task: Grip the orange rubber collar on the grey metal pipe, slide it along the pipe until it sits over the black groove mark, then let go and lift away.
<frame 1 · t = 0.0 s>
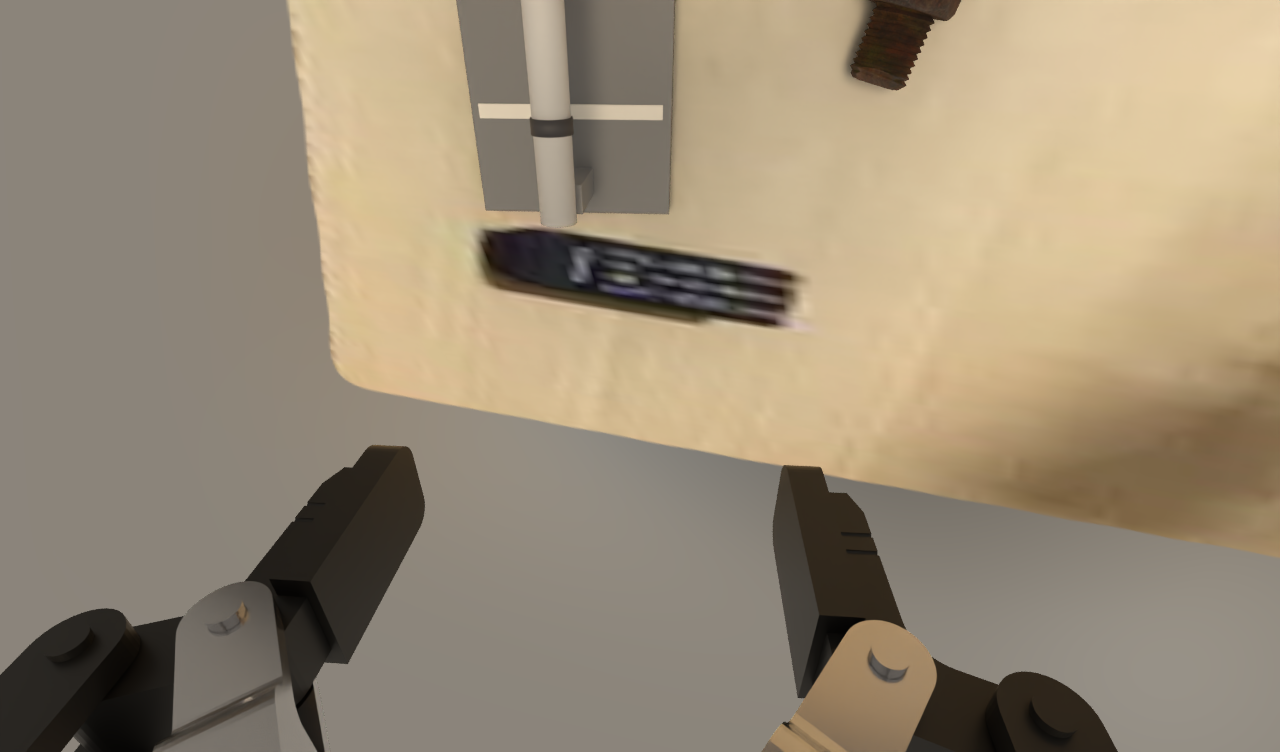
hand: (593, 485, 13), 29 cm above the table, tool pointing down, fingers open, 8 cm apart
pipe stand: (569, 12, 33), on the table
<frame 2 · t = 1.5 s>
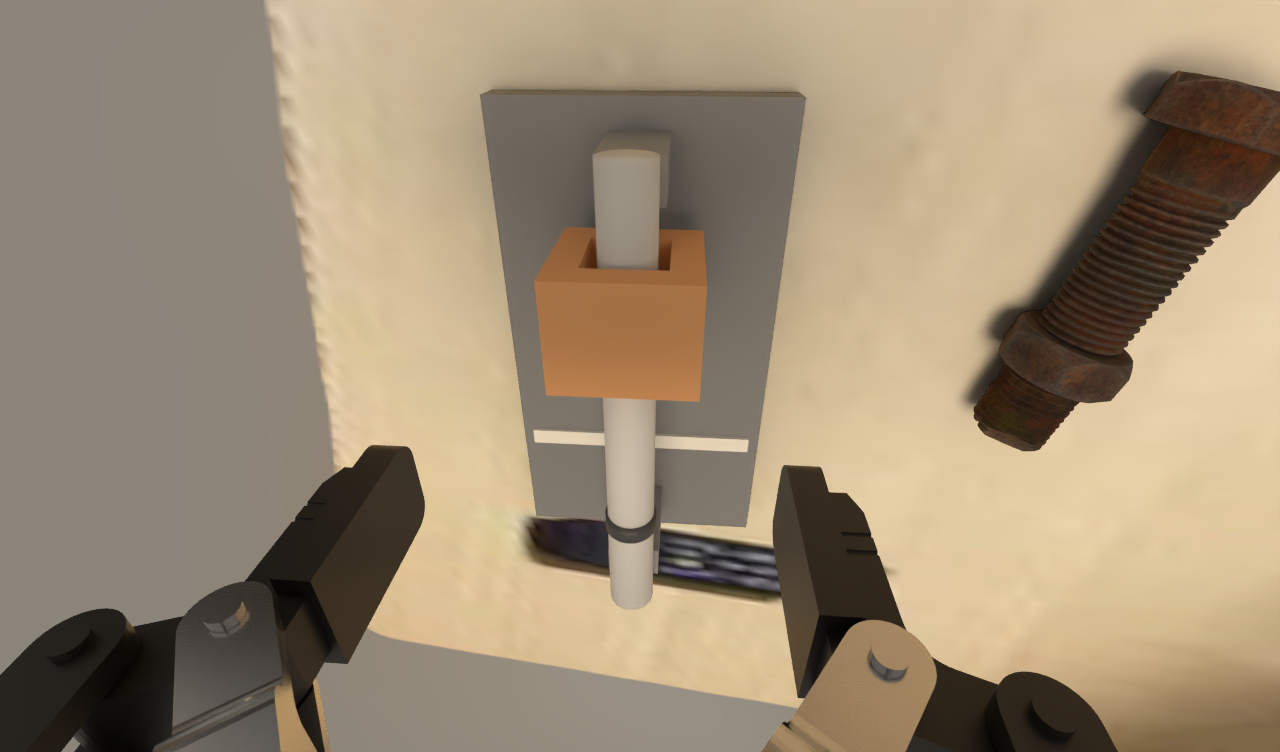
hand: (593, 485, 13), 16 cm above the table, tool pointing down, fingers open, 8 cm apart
bolt: (1072, 268, 25), on the table
collar: (628, 309, 20), point 7 cm above the table, slide at 0.0 cm
pipe stand: (642, 339, 28), on the table
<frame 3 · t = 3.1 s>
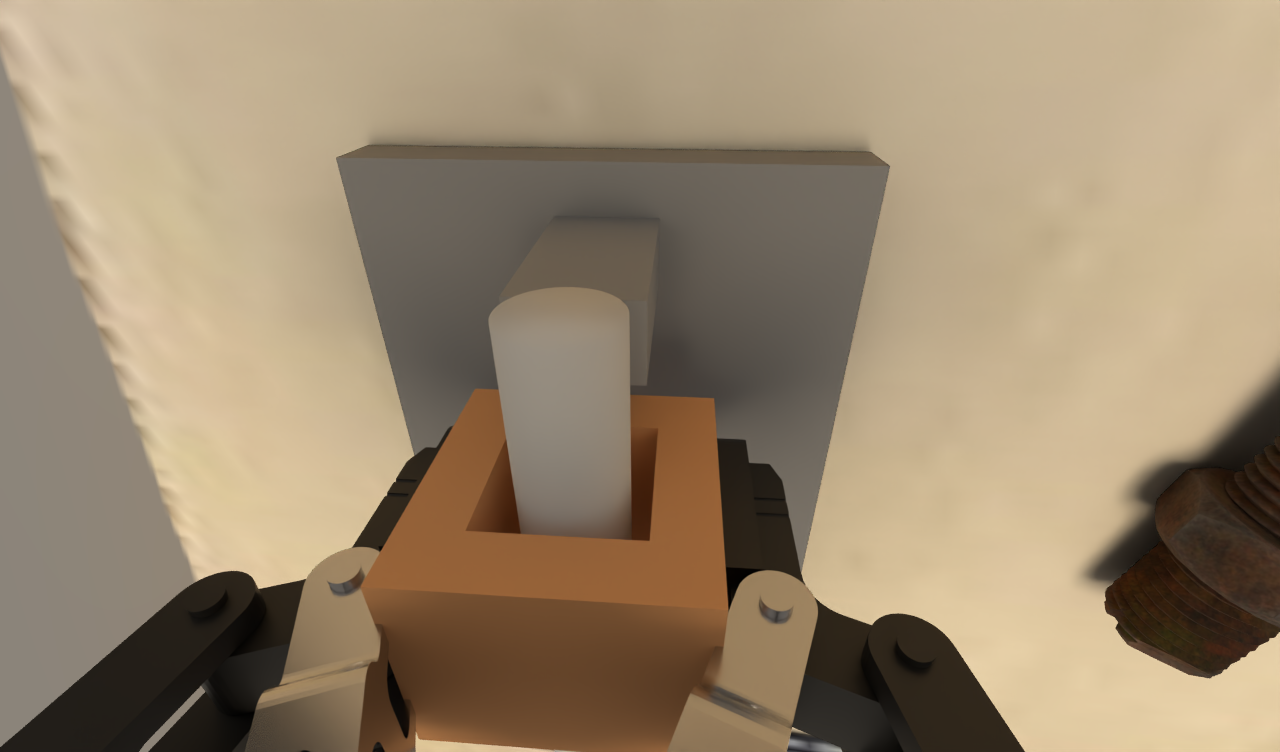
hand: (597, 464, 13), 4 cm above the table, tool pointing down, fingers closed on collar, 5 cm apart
bolt: (1274, 409, 17), on the table
collar: (579, 554, 11), point 7 cm above the table, slide at 0.0 cm, touching gripper
pipe stand: (620, 493, 19), on the table
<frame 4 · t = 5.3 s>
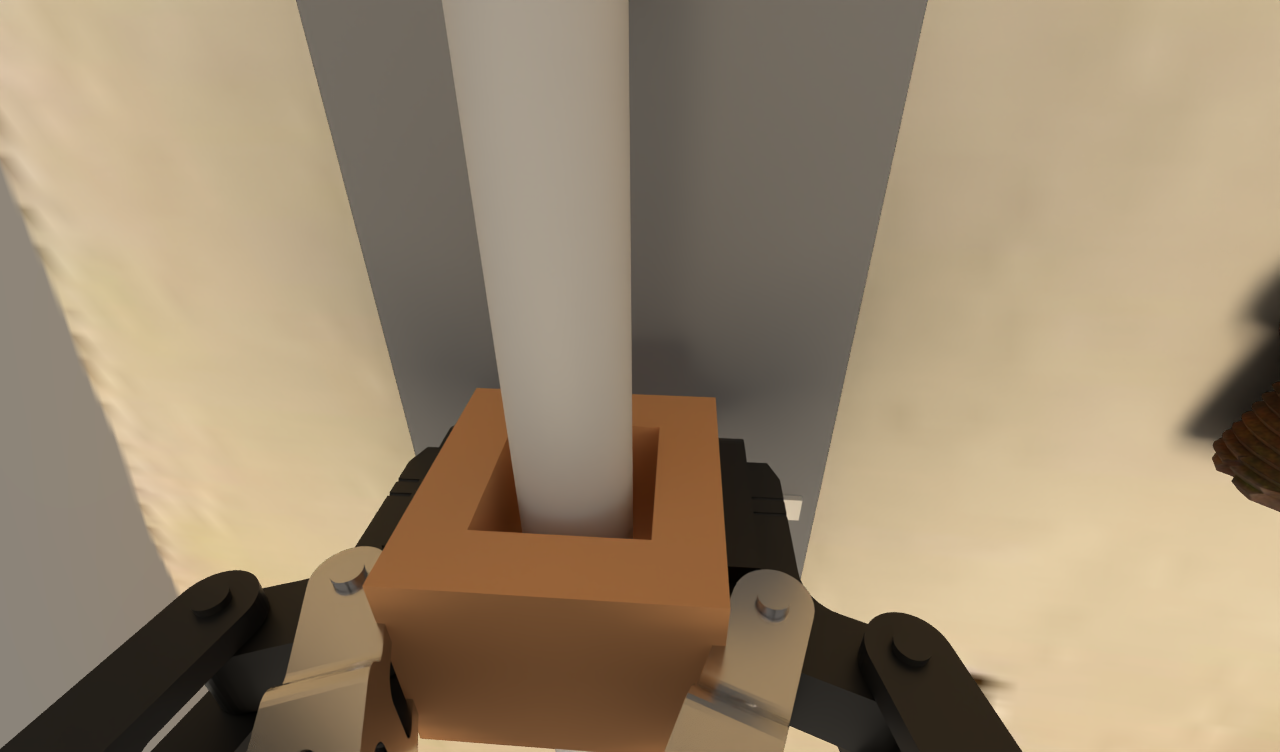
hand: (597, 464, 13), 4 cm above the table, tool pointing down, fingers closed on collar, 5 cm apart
collar: (580, 553, 11), point 7 cm above the table, slide at 6.3 cm, touching gripper
pipe stand: (617, 327, 16), on the table
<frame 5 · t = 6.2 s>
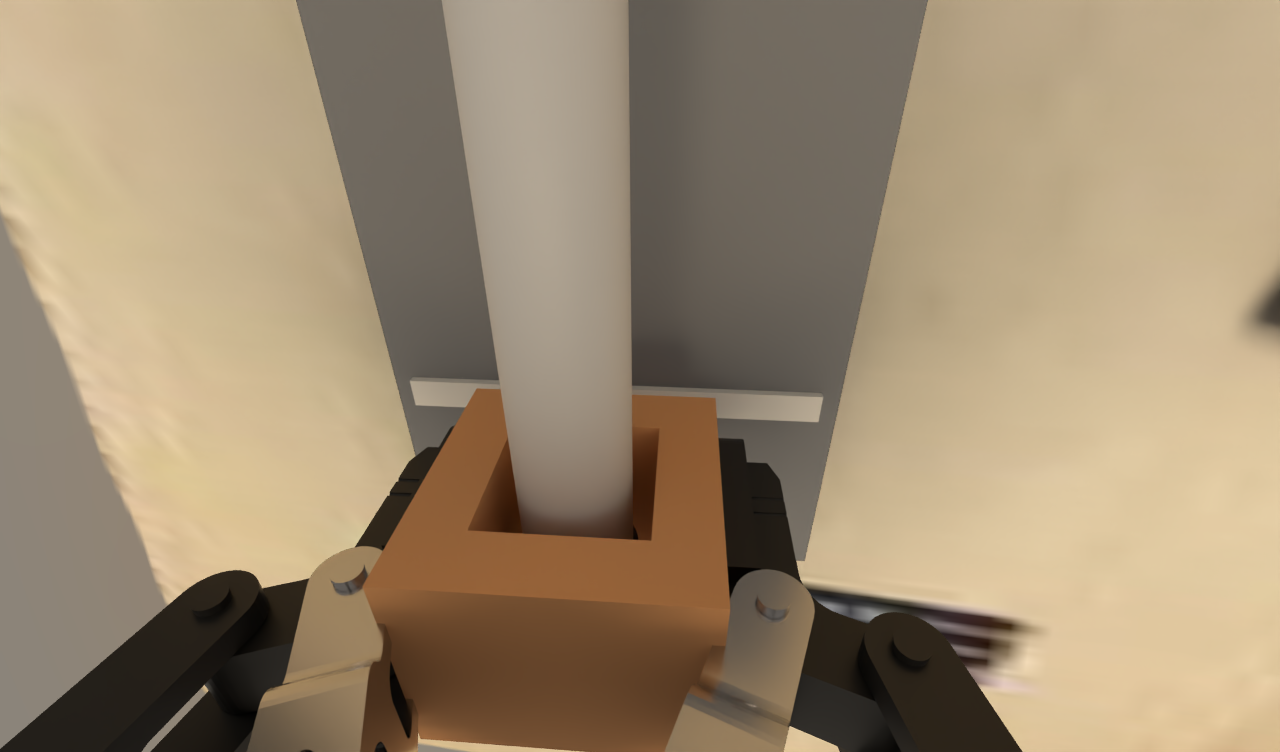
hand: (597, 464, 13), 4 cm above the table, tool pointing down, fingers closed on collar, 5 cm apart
collar: (580, 553, 11), point 7 cm above the table, slide at 9.9 cm, touching gripper
pipe stand: (614, 195, 14), on the table
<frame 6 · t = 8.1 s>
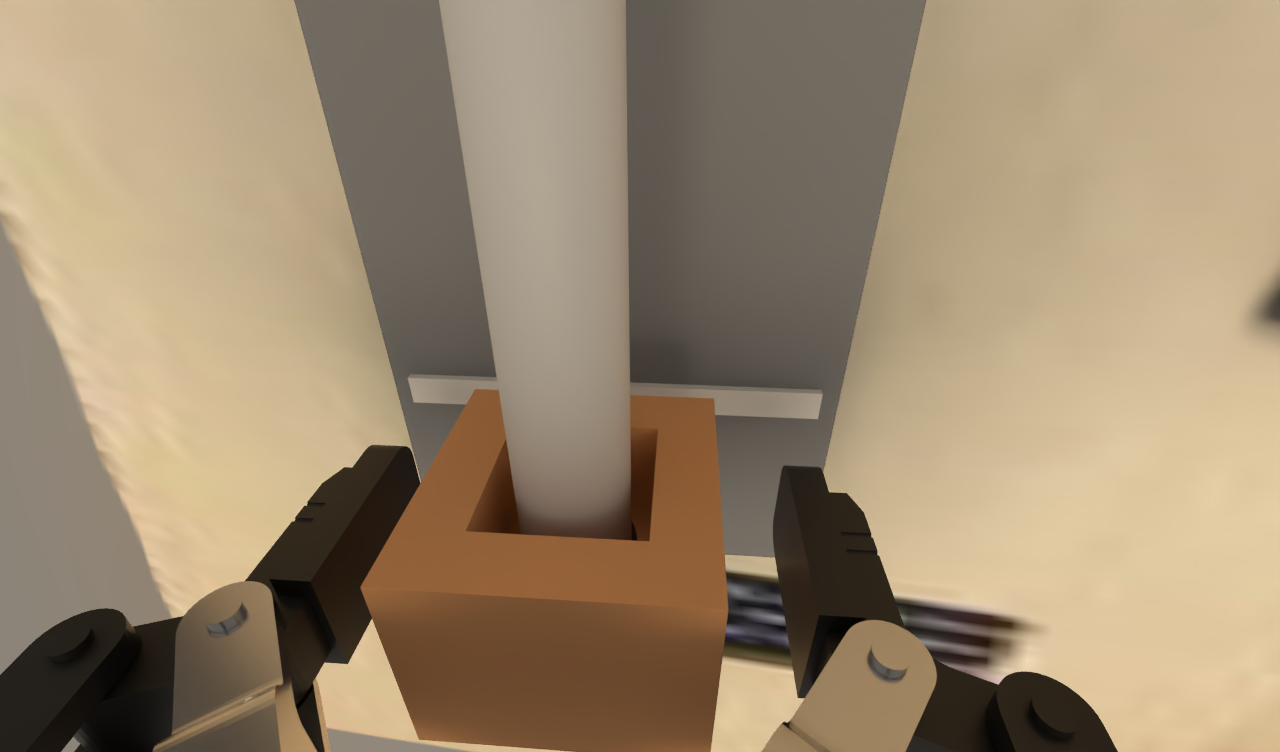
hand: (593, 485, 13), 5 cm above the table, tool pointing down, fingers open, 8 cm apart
collar: (578, 554, 11), point 7 cm above the table, slide at 10.0 cm
pipe stand: (613, 191, 14), on the table
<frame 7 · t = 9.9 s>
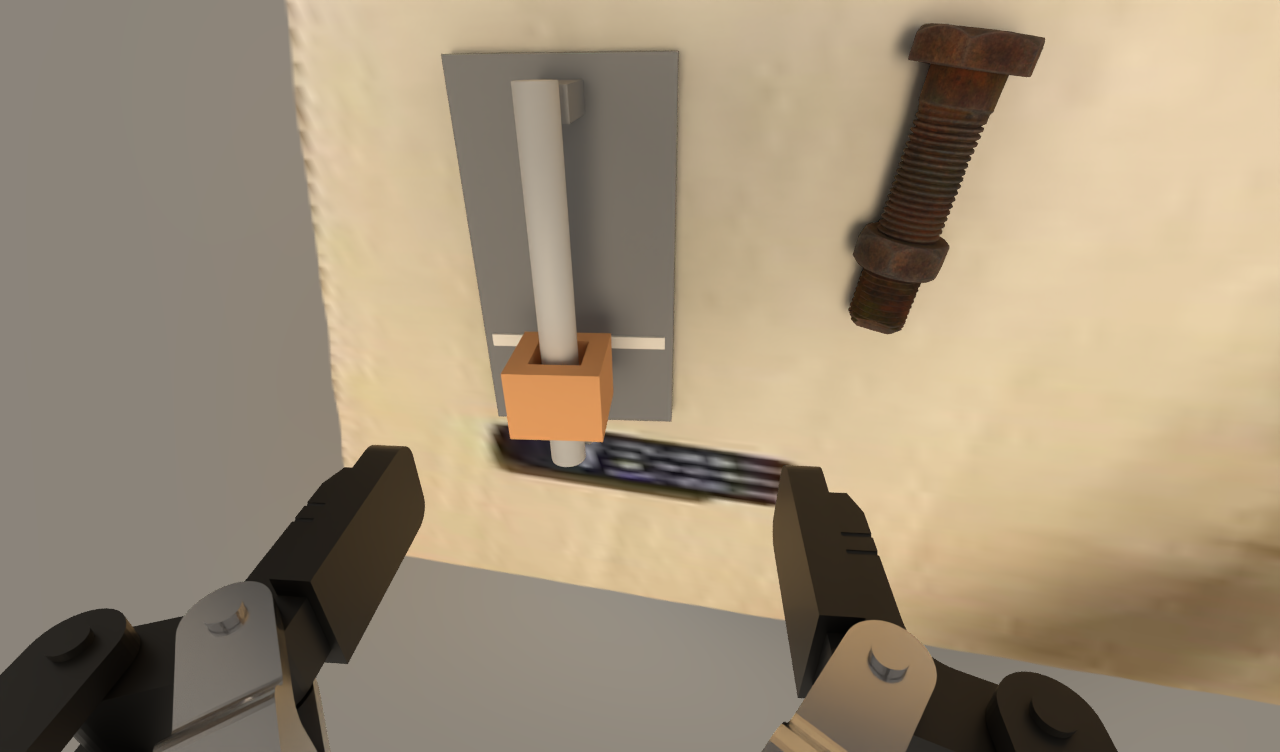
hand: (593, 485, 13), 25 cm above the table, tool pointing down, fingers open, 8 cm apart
bolt: (903, 185, 33), on the table
collar: (562, 384, 32), point 7 cm above the table, slide at 10.0 cm
pipe stand: (577, 256, 36), on the table
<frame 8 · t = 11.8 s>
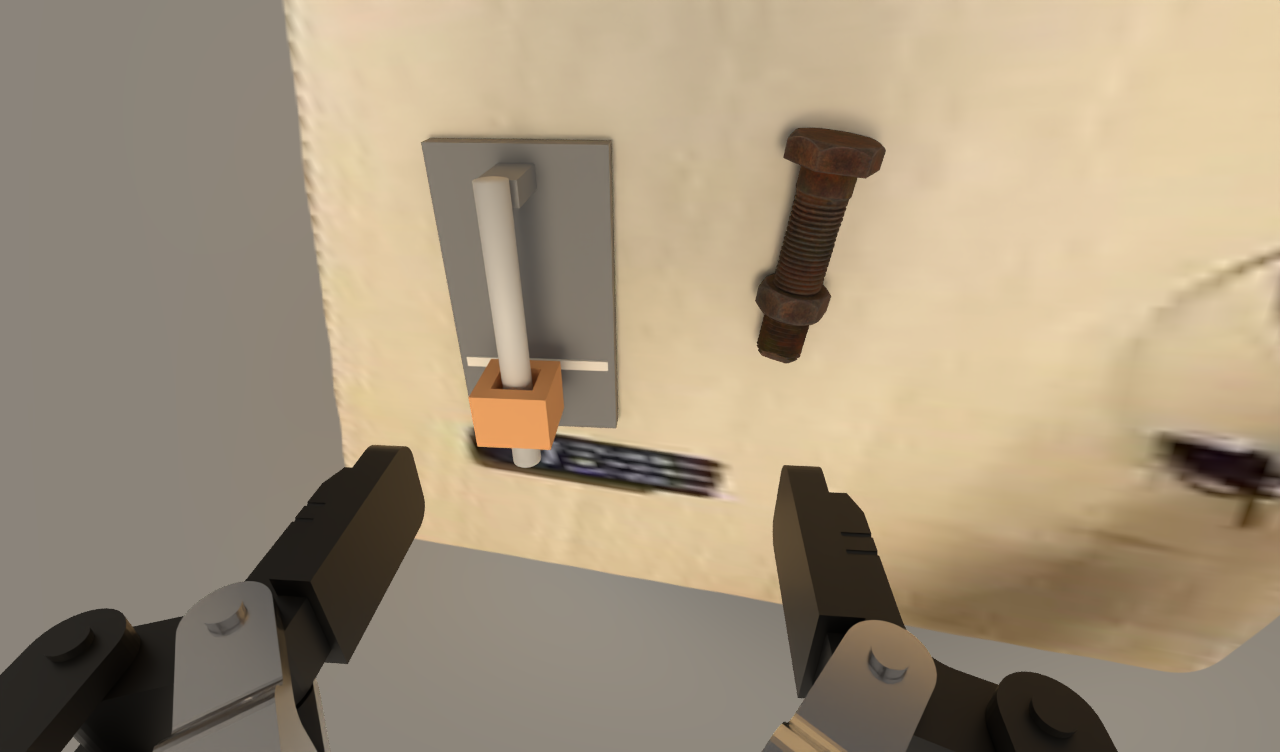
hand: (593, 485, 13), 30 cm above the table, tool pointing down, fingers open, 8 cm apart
bolt: (796, 244, 40), on the table
collar: (519, 402, 40), point 7 cm above the table, slide at 10.0 cm
pipe stand: (535, 295, 43), on the table
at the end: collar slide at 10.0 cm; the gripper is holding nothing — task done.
